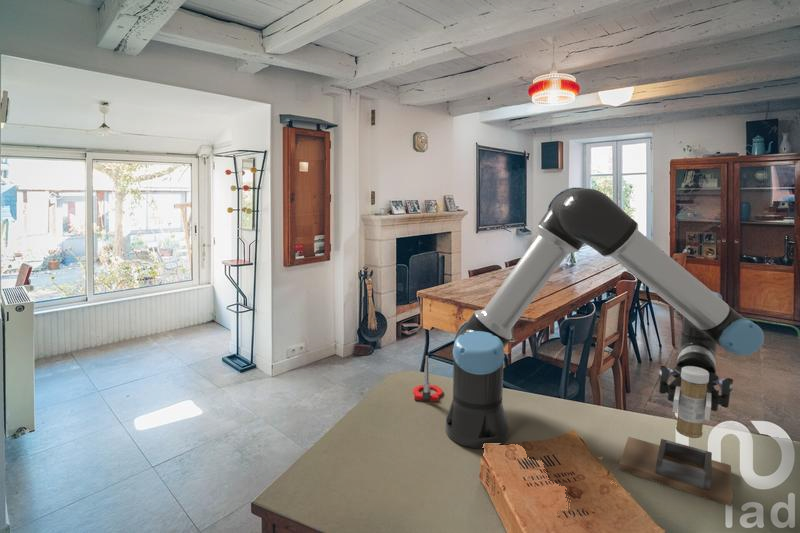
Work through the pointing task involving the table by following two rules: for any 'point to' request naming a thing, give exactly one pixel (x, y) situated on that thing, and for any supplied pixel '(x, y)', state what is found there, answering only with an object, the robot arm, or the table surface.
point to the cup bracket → (679, 468)
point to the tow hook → (427, 388)
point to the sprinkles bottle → (692, 401)
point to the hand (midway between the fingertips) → (691, 409)
